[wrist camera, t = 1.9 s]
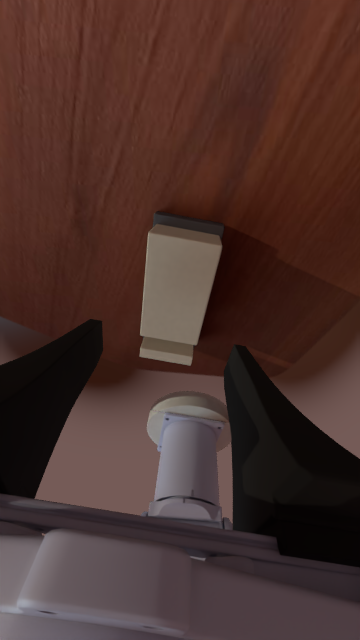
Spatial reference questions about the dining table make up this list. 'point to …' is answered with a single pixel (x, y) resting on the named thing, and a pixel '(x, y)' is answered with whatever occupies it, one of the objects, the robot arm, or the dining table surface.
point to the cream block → (177, 284)
